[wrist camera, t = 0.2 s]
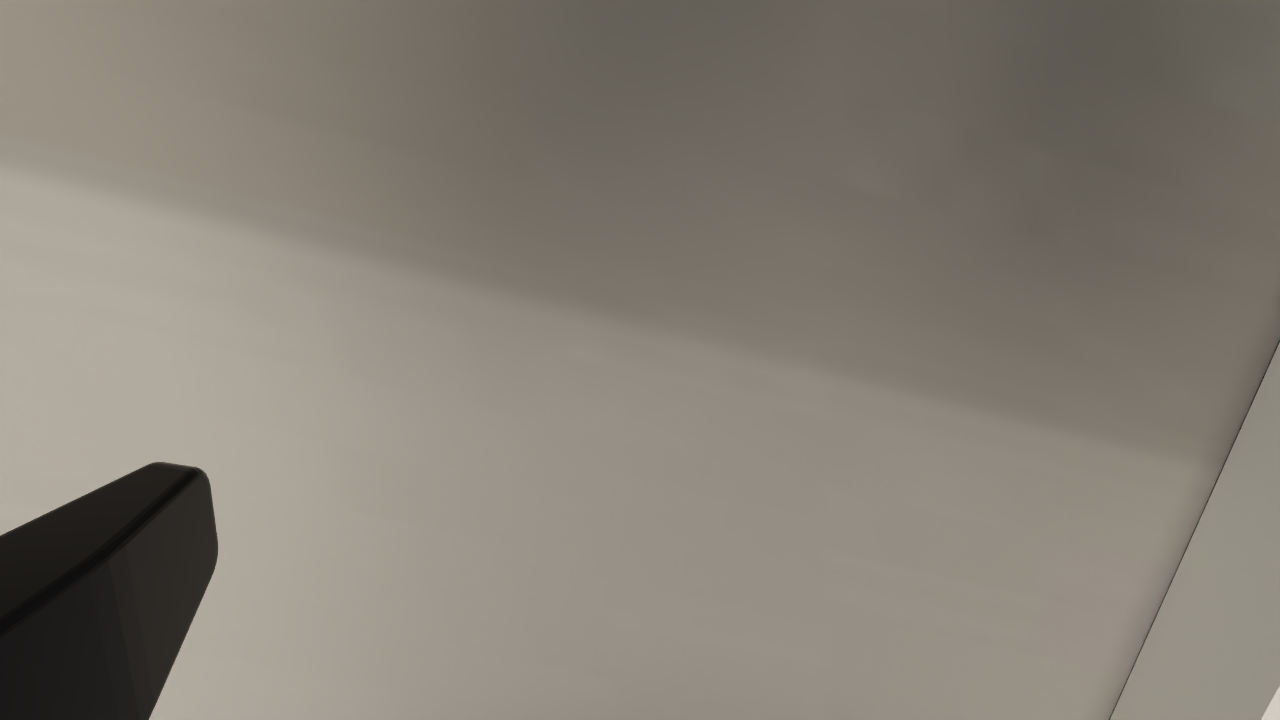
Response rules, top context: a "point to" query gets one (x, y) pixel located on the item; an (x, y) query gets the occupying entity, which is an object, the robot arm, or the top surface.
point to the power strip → (1223, 593)
